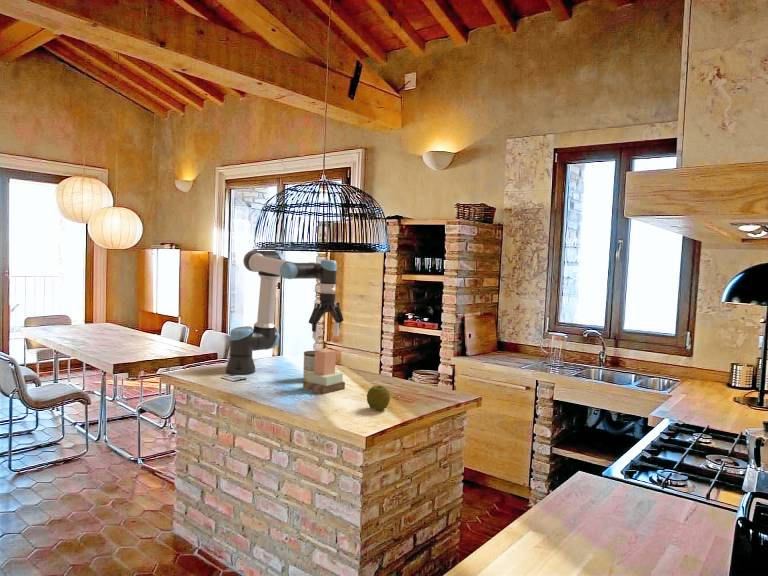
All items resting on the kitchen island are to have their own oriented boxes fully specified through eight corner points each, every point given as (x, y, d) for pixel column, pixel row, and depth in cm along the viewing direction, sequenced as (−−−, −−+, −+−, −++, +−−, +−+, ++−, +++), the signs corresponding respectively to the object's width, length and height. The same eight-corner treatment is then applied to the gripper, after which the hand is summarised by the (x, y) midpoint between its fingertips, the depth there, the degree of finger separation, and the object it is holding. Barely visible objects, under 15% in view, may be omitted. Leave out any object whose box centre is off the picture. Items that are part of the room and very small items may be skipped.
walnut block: (303, 389, 271) (303, 381, 271) (324, 384, 282) (324, 376, 282) (323, 395, 262) (323, 386, 262) (344, 390, 273) (344, 382, 273)
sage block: (306, 381, 271) (307, 373, 270) (323, 377, 280) (323, 369, 280) (326, 385, 264) (326, 377, 264) (342, 381, 274) (342, 373, 273)
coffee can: (305, 376, 295) (306, 350, 294) (325, 378, 294) (326, 351, 293) (300, 381, 285) (301, 353, 284) (320, 382, 284) (321, 354, 283)
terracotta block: (314, 372, 272) (315, 350, 271) (325, 371, 277) (326, 348, 276) (323, 375, 267) (324, 352, 266) (334, 373, 272) (335, 350, 271)
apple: (361, 407, 243) (362, 382, 242) (380, 405, 248) (381, 380, 247) (375, 414, 234) (376, 387, 234) (394, 411, 240) (395, 385, 239)
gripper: (313, 294, 257) (311, 340, 259) (351, 292, 276) (349, 335, 277) (302, 292, 262) (300, 338, 264) (341, 291, 281) (339, 333, 282)
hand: (325, 337), depth 271 cm, fingers open, 13 cm apart
